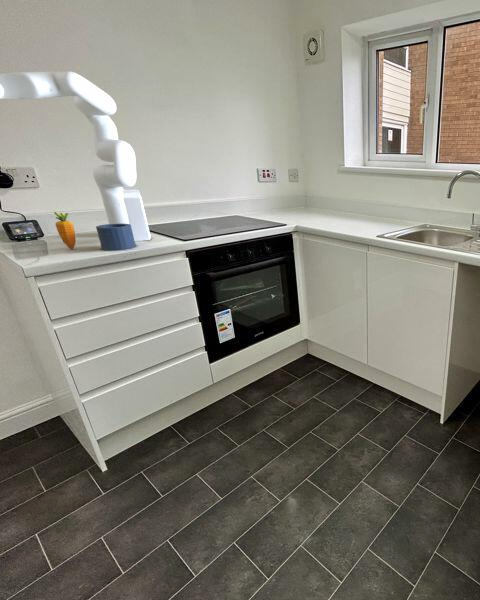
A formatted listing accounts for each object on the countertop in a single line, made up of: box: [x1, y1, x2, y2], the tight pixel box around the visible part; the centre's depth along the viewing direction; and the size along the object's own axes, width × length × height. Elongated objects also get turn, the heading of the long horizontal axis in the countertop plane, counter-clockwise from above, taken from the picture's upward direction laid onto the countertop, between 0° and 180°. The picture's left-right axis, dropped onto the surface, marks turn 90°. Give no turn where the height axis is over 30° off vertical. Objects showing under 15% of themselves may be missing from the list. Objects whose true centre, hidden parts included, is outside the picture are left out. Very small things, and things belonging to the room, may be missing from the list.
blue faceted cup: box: [95, 223, 137, 252], centre depth 144 cm, size 11×11×9 cm
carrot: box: [53, 211, 77, 250], centre depth 138 cm, size 5×5×15 cm
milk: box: [123, 189, 152, 242], centre depth 157 cm, size 6×6×22 cm
